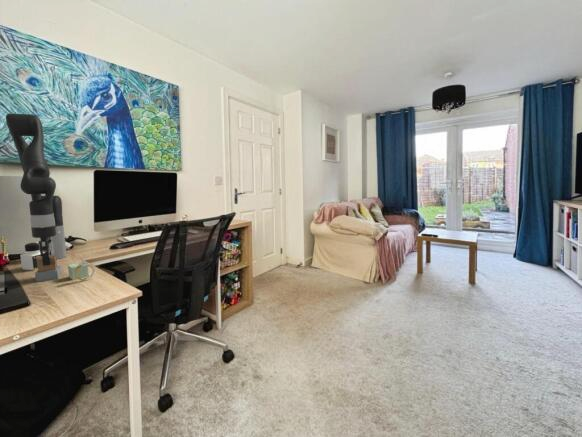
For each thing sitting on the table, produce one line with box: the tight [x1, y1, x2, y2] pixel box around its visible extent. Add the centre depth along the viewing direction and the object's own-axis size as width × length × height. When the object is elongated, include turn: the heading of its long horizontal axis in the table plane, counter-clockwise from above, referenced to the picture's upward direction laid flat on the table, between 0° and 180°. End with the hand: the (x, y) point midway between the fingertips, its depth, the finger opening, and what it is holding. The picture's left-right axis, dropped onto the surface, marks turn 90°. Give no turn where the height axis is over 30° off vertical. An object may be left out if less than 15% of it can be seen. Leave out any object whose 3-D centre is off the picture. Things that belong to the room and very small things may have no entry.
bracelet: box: [74, 261, 96, 282], centre depth 113 cm, size 7×3×8 cm, turn 134°
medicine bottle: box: [20, 241, 44, 271], centre depth 128 cm, size 7×7×12 cm
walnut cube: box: [37, 255, 58, 272], centre depth 115 cm, size 6×6×6 cm
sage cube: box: [67, 261, 90, 281], centre depth 117 cm, size 6×6×6 cm
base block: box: [34, 265, 63, 283], centre depth 116 cm, size 7×7×4 cm
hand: (47, 262), depth 115 cm, fingers open, 8 cm apart
